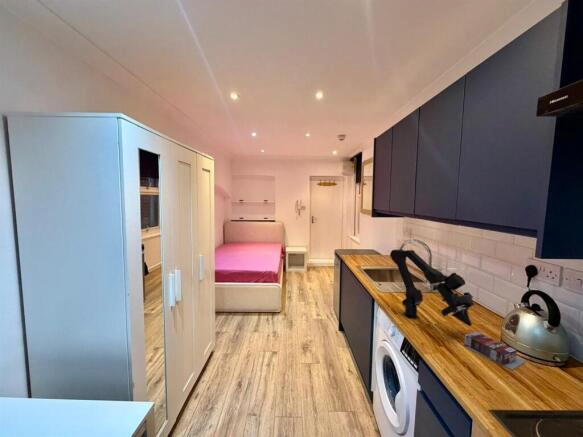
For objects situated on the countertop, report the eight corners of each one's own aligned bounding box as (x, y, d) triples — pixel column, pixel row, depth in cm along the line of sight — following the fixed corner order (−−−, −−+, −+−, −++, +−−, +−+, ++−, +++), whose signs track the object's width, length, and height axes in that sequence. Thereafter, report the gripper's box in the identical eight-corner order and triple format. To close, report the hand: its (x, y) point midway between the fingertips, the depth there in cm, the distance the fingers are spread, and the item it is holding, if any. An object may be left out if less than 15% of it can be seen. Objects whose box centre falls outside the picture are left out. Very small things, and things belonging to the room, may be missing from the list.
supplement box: (477, 330, 119) (517, 349, 104) (476, 340, 119) (516, 361, 105) (464, 334, 116) (504, 354, 101) (463, 344, 116) (503, 366, 102)
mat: (465, 347, 114) (465, 347, 114) (480, 341, 120) (480, 340, 120) (512, 370, 99) (512, 369, 99) (526, 362, 105) (526, 361, 105)
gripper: (449, 289, 117) (473, 323, 108) (471, 284, 126) (496, 314, 117) (431, 300, 125) (453, 332, 116) (454, 294, 133) (475, 324, 124)
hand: (470, 325), depth 118 cm, fingers closed
